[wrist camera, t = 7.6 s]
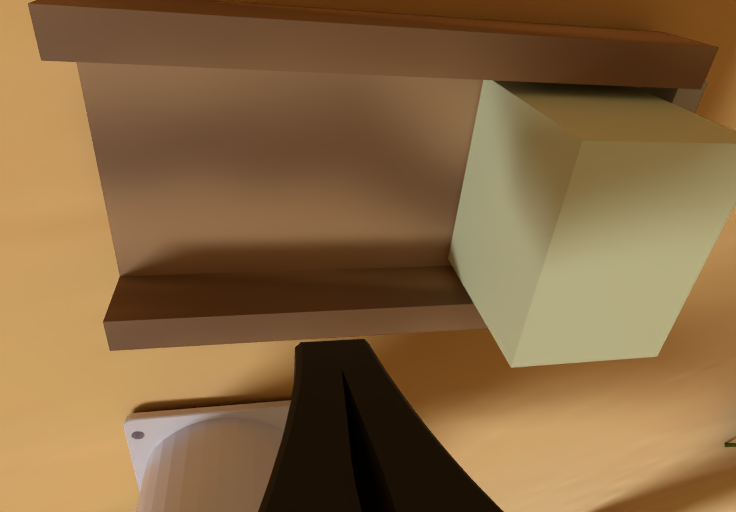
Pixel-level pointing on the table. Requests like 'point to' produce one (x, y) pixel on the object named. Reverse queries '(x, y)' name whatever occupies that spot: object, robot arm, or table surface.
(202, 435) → the robot arm
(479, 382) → the table surface
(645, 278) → the block
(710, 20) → the table surface
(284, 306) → the chute
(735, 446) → the pomegranate
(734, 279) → the table surface
